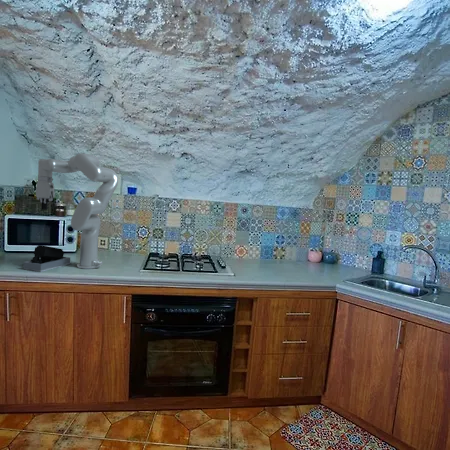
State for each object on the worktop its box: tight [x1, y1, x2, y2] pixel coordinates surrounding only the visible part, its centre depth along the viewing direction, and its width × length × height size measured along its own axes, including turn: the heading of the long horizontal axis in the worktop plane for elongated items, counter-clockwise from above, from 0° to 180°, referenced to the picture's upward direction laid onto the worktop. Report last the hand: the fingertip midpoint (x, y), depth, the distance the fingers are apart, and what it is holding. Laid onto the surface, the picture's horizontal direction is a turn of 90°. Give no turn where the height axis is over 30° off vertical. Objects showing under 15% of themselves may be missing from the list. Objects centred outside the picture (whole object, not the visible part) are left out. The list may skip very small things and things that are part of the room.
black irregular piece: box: [30, 244, 65, 264], centre depth 180 cm, size 7×18×10 cm, turn 166°
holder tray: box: [23, 256, 71, 273], centre depth 181 cm, size 11×22×4 cm, turn 166°
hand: (44, 209), depth 195 cm, fingers closed
